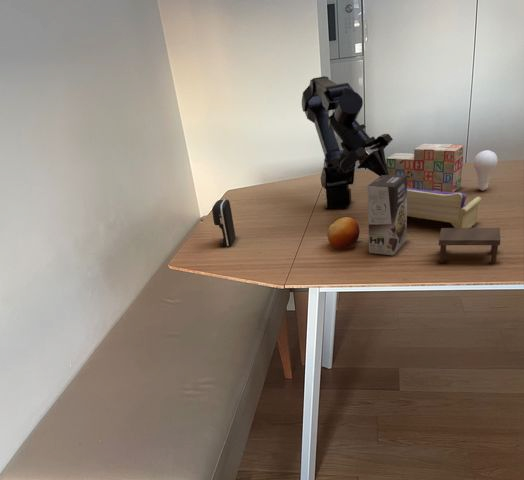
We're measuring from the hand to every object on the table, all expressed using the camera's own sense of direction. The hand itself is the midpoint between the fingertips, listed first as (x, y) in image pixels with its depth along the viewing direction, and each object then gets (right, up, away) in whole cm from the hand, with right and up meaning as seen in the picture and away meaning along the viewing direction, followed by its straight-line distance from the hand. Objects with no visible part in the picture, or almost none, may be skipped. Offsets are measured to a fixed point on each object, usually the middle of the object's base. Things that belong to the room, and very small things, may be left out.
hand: (387, 178), depth 133 cm
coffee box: (-2, -20, -9) cm, 22 cm away
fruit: (-12, -19, -4) cm, 23 cm away
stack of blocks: (+17, +5, +24) cm, 30 cm away
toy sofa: (+11, -12, -1) cm, 17 cm away
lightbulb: (+31, +1, +15) cm, 35 cm away
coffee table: (+13, -24, -20) cm, 34 cm away
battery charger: (-42, -15, +9) cm, 45 cm away
